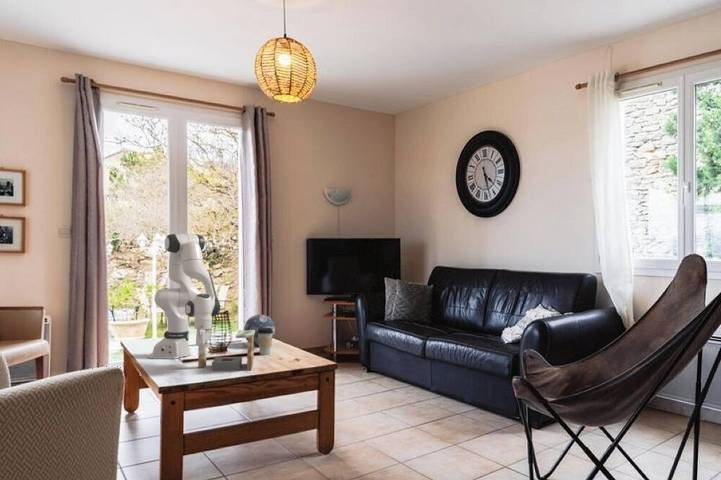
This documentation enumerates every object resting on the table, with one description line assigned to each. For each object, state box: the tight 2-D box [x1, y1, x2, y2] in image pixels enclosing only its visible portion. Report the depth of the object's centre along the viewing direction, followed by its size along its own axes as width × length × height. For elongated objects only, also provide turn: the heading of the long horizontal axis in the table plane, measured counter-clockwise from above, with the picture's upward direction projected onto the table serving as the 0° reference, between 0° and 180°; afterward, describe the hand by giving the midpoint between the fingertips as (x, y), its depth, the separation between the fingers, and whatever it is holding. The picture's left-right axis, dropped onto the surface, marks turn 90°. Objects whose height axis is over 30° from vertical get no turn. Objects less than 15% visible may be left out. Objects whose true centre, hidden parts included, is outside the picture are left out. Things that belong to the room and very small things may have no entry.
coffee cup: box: [257, 328, 273, 356], centre depth 291 cm, size 9×9×15 cm
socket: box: [211, 356, 243, 371], centre depth 259 cm, size 14×12×4 cm
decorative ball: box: [243, 314, 276, 347], centre depth 315 cm, size 20×20×20 cm
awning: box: [235, 329, 255, 371], centre depth 260 cm, size 8×16×18 cm, turn 8°
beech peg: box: [197, 343, 208, 369], centre depth 258 cm, size 4×4×12 cm
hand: (202, 351), depth 257 cm, fingers open, 8 cm apart
